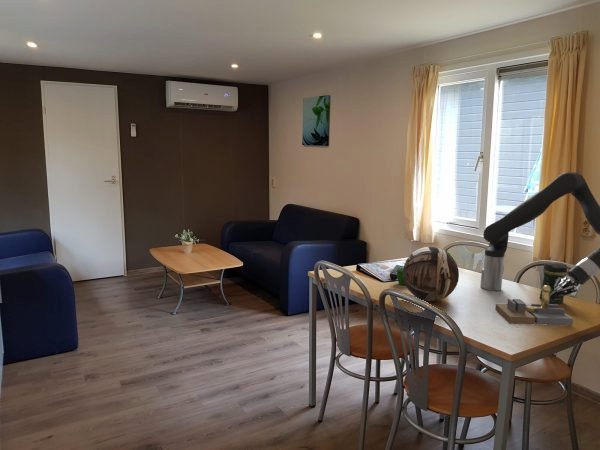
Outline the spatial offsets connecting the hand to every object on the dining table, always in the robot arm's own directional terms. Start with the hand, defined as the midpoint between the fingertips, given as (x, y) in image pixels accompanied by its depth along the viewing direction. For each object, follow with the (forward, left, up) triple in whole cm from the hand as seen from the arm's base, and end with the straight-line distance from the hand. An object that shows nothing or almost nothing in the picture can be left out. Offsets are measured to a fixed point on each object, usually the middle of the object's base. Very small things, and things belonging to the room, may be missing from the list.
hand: (550, 298), depth 196 cm
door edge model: (-5, -5, -9) cm, 11 cm away
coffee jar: (-5, +25, -9) cm, 27 cm away
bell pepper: (-68, -1, -9) cm, 69 cm away
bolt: (-3, -3, -6) cm, 7 cm away
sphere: (-47, -15, -9) cm, 50 cm away
